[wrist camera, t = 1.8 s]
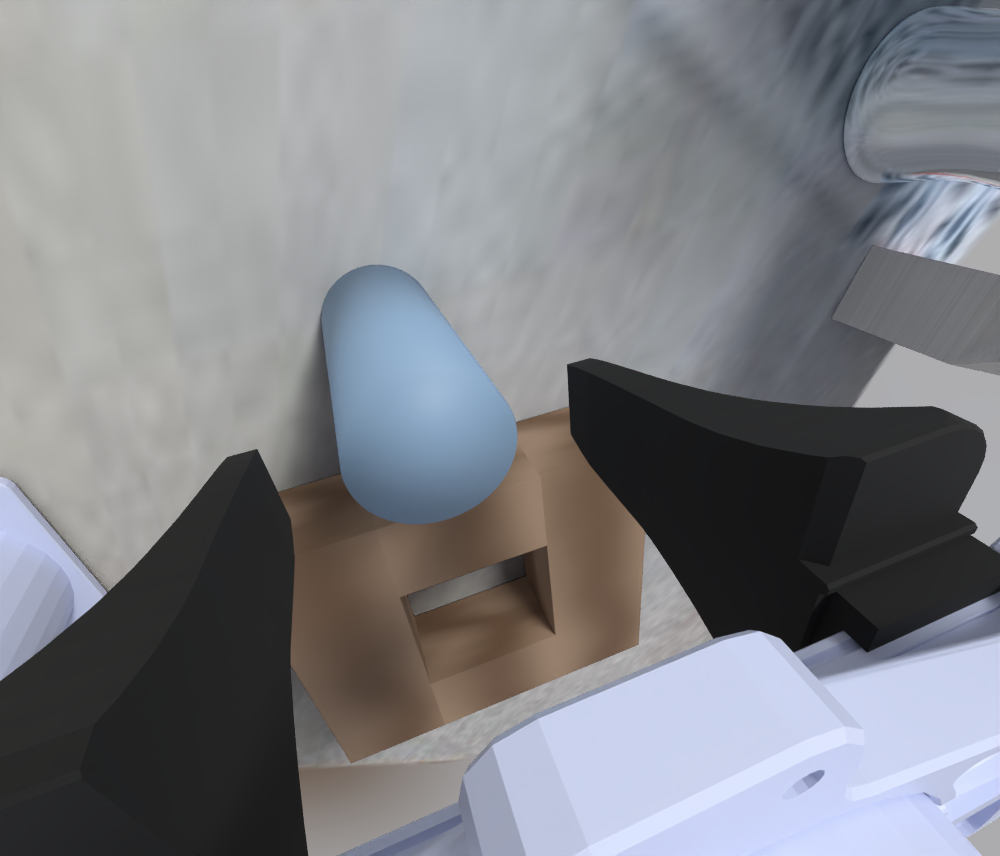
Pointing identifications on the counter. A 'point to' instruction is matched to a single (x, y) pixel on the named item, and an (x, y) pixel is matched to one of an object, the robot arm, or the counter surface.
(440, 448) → the peg
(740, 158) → the counter surface
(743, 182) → the counter surface
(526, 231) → the counter surface
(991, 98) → the silver metal tumbler
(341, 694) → the socket board
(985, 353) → the grey angular block
